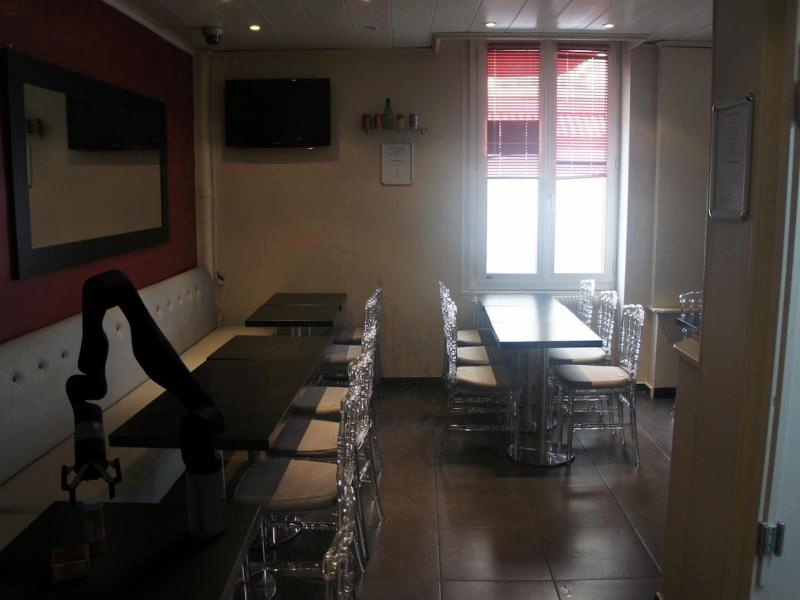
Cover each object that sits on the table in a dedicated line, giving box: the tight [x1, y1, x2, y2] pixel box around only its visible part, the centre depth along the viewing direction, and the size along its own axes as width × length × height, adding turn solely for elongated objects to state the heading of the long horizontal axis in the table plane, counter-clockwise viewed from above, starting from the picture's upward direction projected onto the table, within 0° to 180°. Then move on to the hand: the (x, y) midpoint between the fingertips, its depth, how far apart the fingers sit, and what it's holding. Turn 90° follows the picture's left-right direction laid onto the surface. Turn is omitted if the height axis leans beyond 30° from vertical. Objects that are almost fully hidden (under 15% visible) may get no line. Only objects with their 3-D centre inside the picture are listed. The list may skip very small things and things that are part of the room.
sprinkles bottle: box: [82, 495, 107, 555], centre depth 185 cm, size 5×5×14 cm
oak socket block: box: [50, 543, 91, 584], centre depth 176 cm, size 8×8×4 cm
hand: (93, 501), depth 187 cm, fingers open, 8 cm apart
